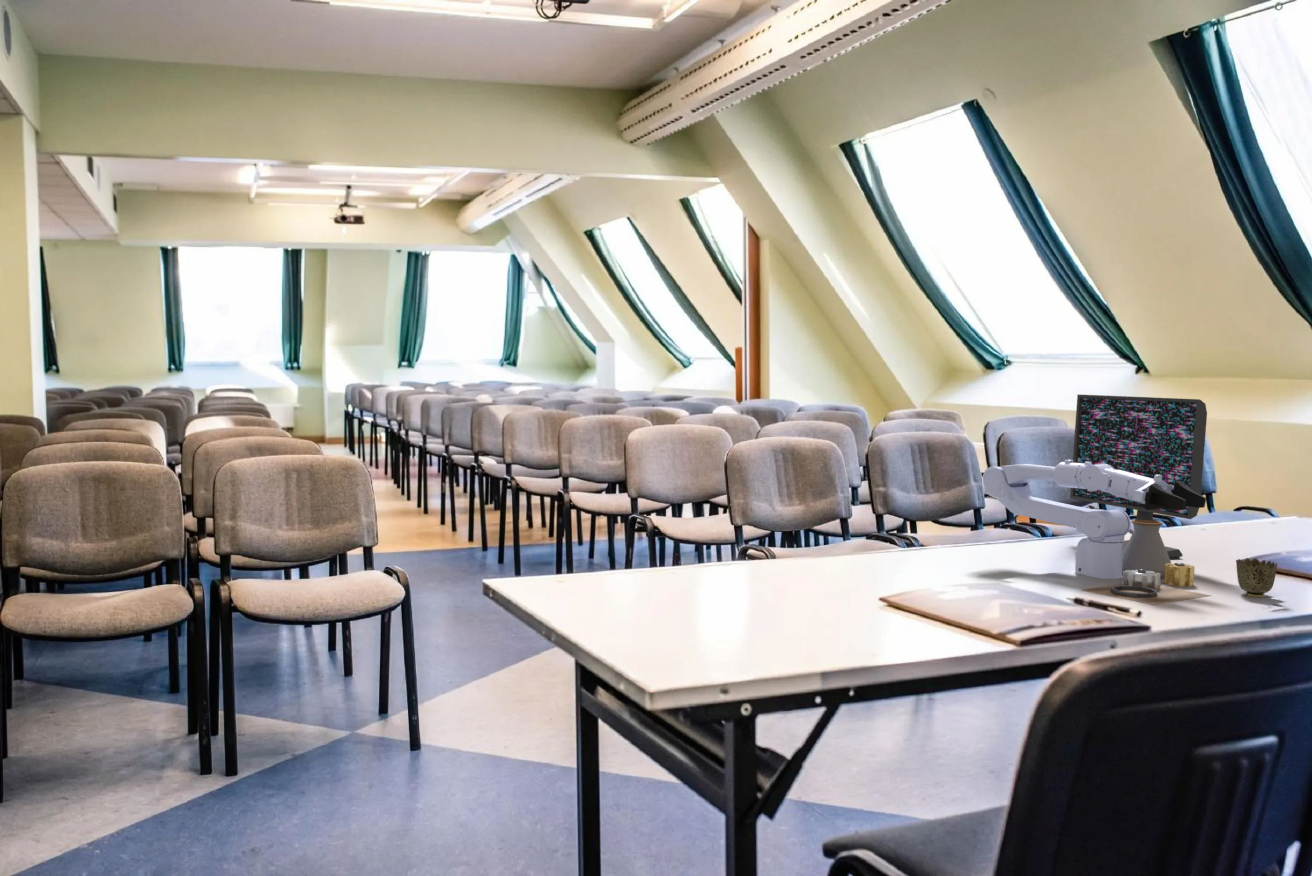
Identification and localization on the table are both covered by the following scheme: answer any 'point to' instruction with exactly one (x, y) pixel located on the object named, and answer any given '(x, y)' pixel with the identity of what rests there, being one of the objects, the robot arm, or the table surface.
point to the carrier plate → (1162, 597)
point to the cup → (1256, 576)
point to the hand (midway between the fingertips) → (1194, 504)
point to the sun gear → (1141, 578)
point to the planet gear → (1179, 574)
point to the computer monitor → (1142, 445)
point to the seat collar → (1150, 593)
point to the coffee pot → (1145, 548)
